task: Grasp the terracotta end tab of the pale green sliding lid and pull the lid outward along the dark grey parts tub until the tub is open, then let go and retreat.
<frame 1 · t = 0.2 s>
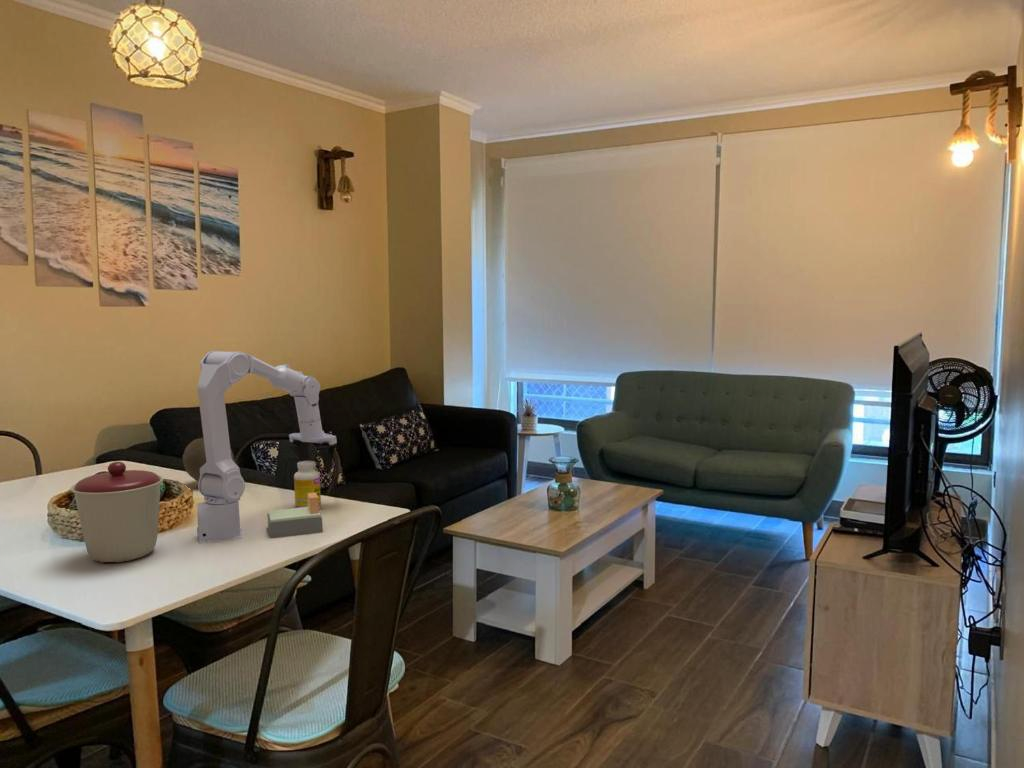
hand: (317, 467, 207), 11 cm above the table, tool pointing down, fingers open, 7 cm apart
ball b: (298, 527, 187), resting on tub
supplement bottle: (308, 510, 205), on the table
lid: (293, 506, 184), point 6 cm above the table, slide at 0.0 cm
canister: (123, 556, 170), on the table
tub: (295, 531, 185), on the table
cantaloupe: (210, 486, 233), on the table
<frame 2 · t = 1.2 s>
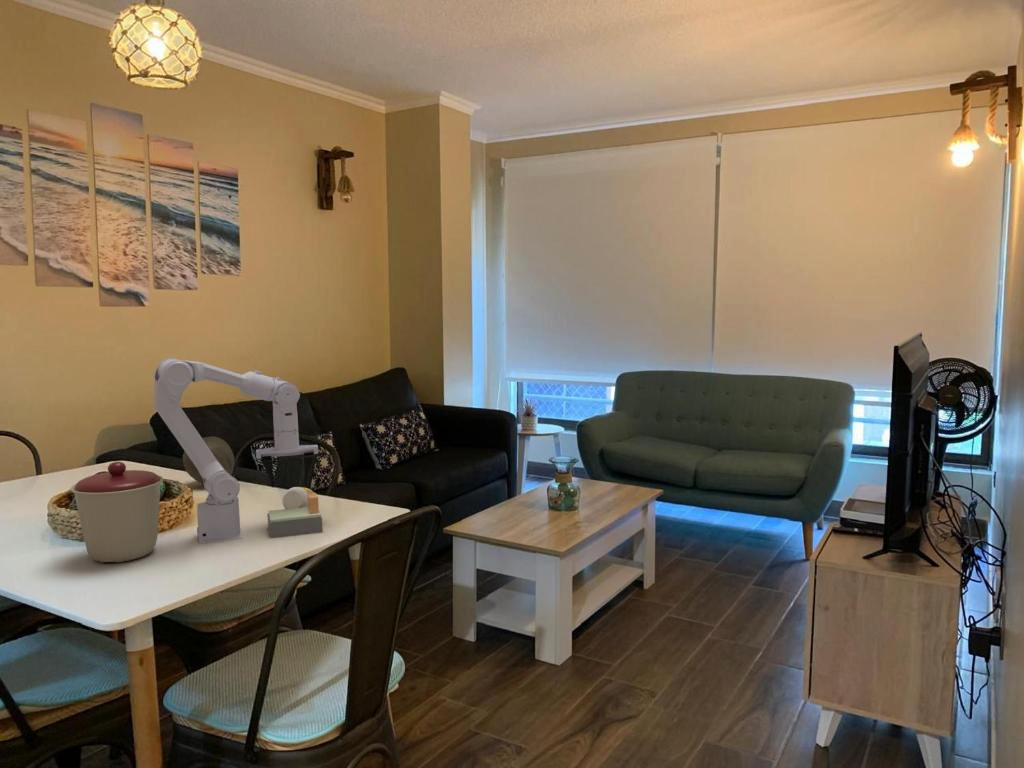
hand: (289, 484, 189), 10 cm above the table, tool pointing down, fingers open, 7 cm apart
supplement bottle: (303, 500, 202), point 3 cm above the table, touching lid
lid: (293, 506, 184), point 6 cm above the table, slide at 0.0 cm, touching supplement bottle
everything else where it was.
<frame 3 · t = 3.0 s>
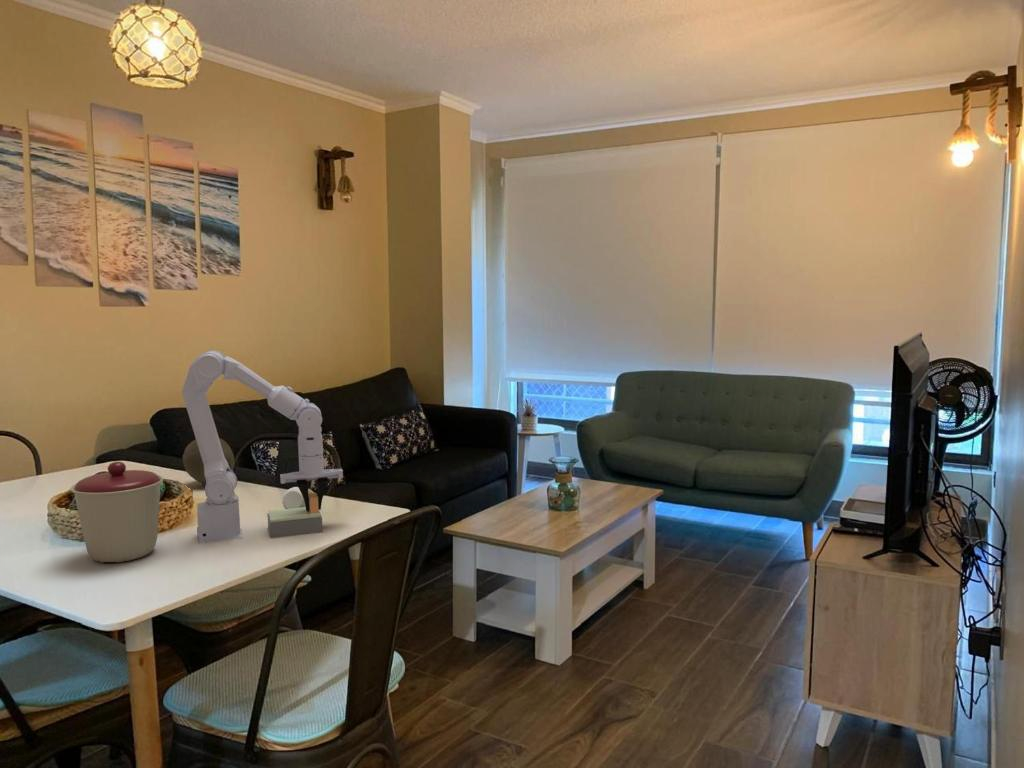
hand: (313, 509, 186), 5 cm above the table, tool pointing down, fingers closed on lid, 2 cm apart
lid: (293, 506, 184), point 6 cm above the table, slide at 0.0 cm, touching supplement bottle, gripper
everything else where it was.
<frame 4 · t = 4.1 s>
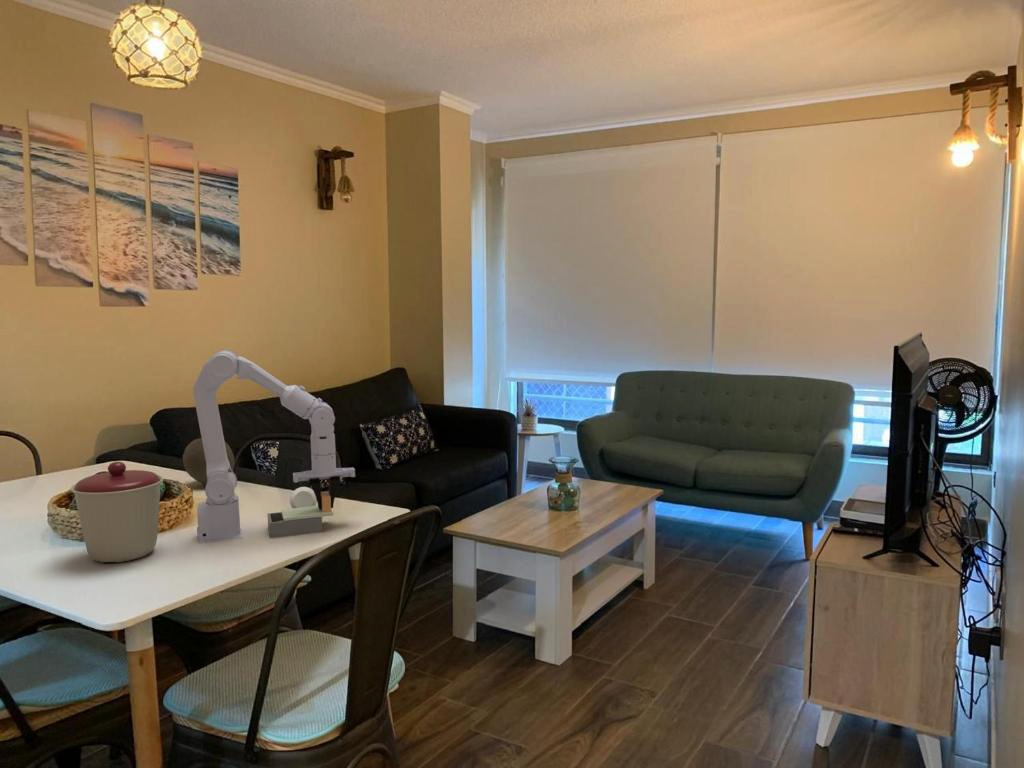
hand: (325, 508, 187), 5 cm above the table, tool pointing down, fingers closed on lid, 2 cm apart
supplement bottle: (303, 499, 202), point 3 cm above the table, touching tub
lid: (306, 504, 185), point 6 cm above the table, slide at 2.9 cm, touching gripper
everything else where it was.
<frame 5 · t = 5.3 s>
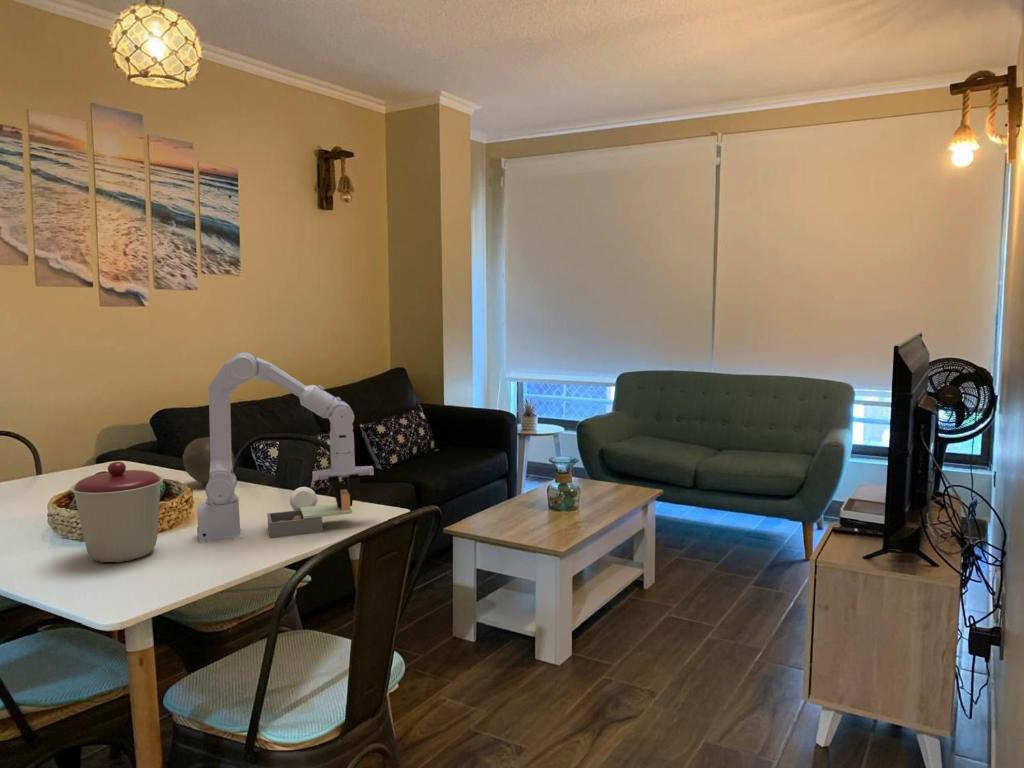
hand: (344, 505, 189), 5 cm above the table, tool pointing down, fingers closed on lid, 2 cm apart
lid: (325, 502, 187), point 6 cm above the table, slide at 7.5 cm, touching gripper
everything else where it was.
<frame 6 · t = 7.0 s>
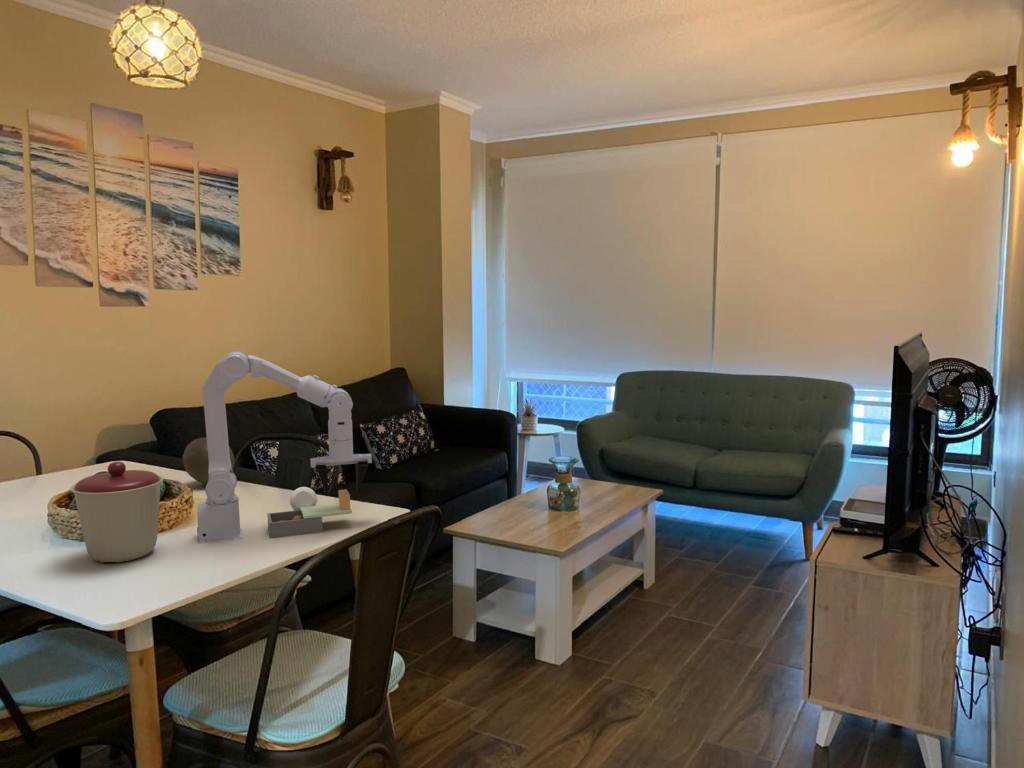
hand: (342, 493, 188), 8 cm above the table, tool pointing down, fingers open, 7 cm apart
lid: (325, 502, 187), point 6 cm above the table, slide at 7.5 cm
everything else where it was.
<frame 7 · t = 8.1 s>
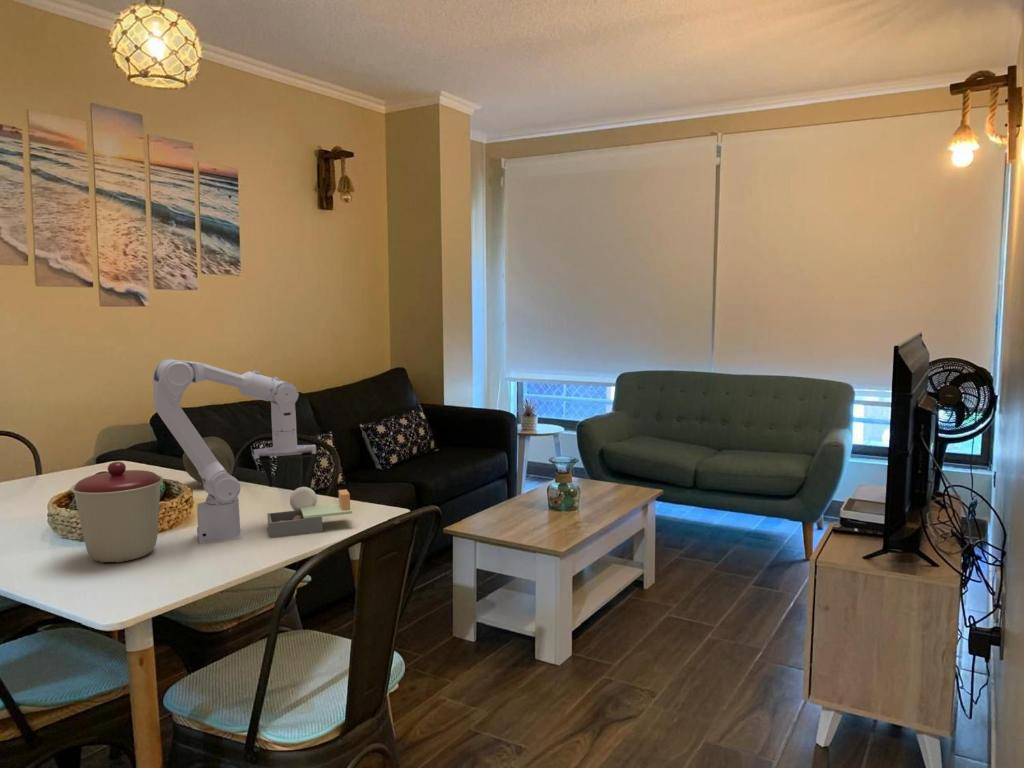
hand: (287, 484, 189), 10 cm above the table, tool pointing down, fingers open, 7 cm apart
nothing on the table moved.
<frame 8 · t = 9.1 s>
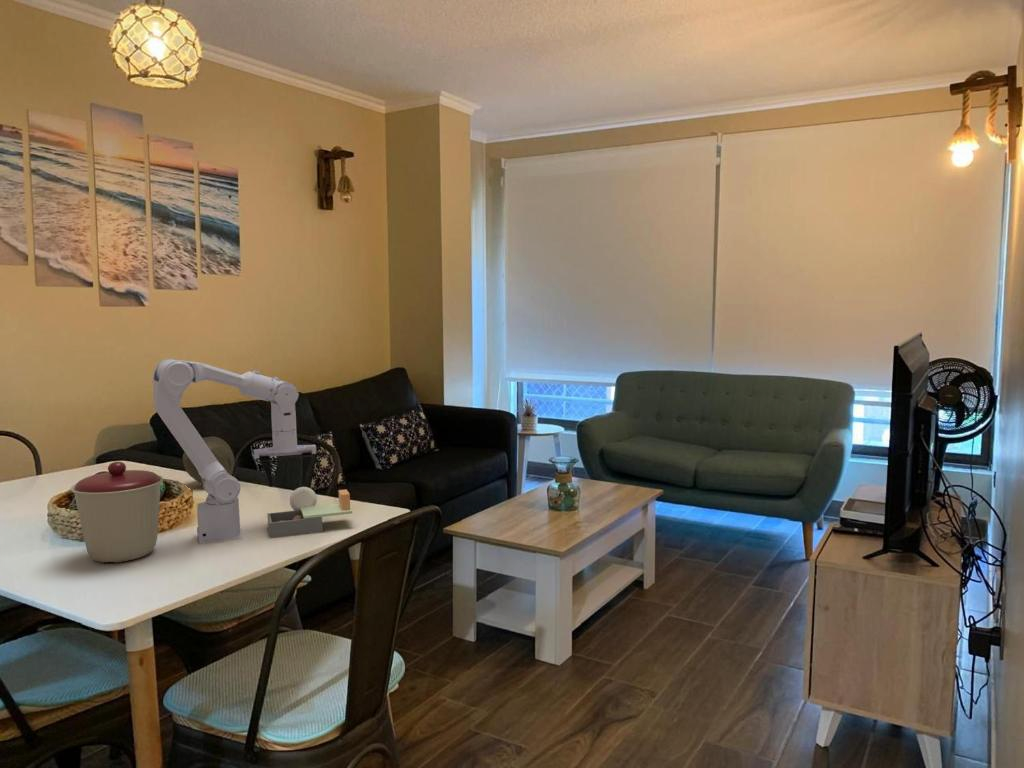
hand: (287, 484, 189), 10 cm above the table, tool pointing down, fingers open, 7 cm apart
nothing on the table moved.
at the end: lid slide at 7.5 cm; the gripper is holding nothing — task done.
